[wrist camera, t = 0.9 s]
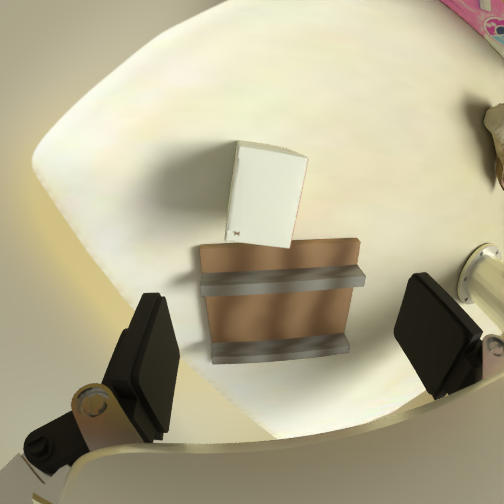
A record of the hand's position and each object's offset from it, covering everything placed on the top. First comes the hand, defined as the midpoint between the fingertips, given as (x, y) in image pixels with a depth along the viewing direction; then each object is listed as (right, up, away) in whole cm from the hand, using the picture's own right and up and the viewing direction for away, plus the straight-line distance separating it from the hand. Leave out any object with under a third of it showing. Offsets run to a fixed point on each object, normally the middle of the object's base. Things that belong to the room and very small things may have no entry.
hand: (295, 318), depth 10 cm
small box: (-1, +11, +21) cm, 24 cm away
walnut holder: (+2, -5, +29) cm, 30 cm away
